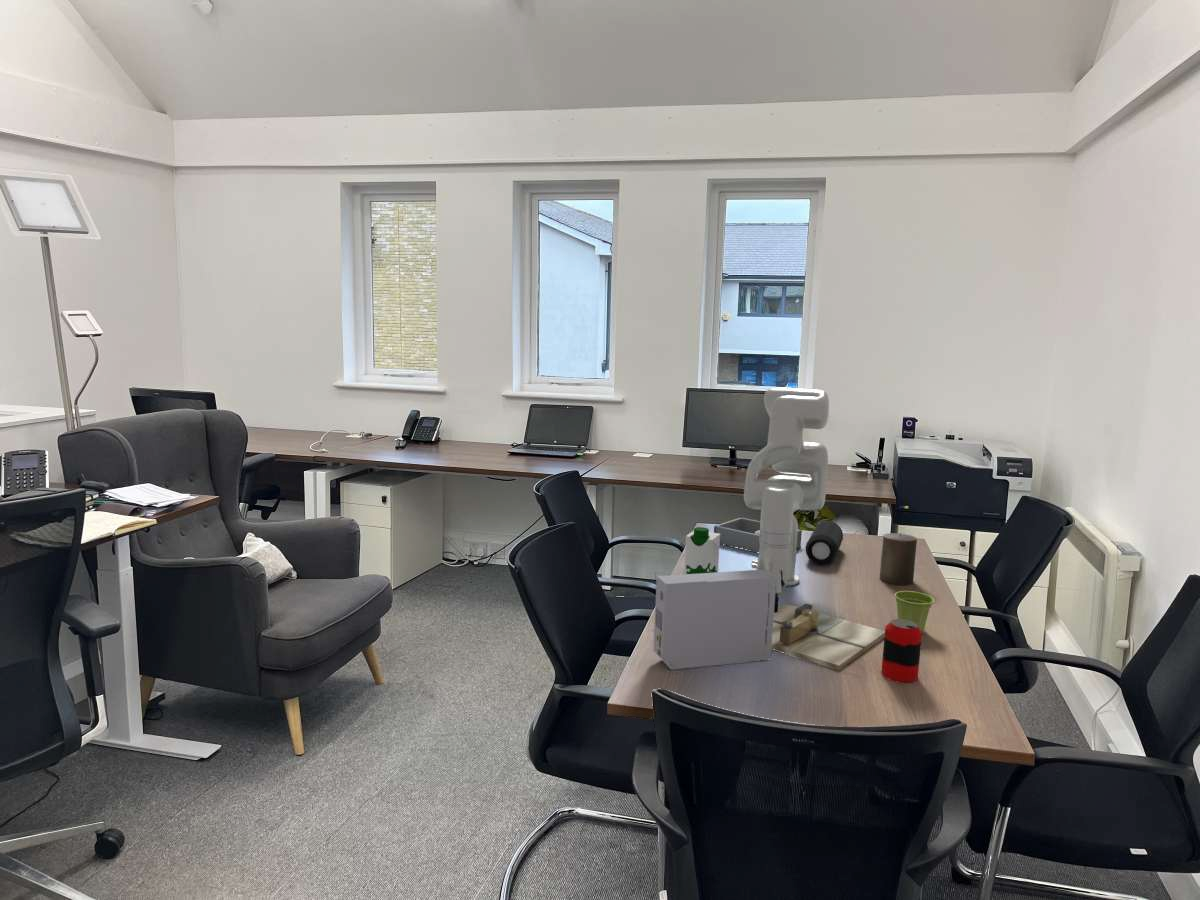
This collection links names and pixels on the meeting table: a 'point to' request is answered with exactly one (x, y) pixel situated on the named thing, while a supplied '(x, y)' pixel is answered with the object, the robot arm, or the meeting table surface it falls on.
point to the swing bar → (799, 626)
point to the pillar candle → (898, 558)
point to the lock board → (825, 638)
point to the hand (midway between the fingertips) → (770, 611)
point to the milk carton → (702, 551)
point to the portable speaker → (824, 543)
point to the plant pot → (913, 607)
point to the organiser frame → (743, 534)
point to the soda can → (901, 651)
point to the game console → (714, 618)
